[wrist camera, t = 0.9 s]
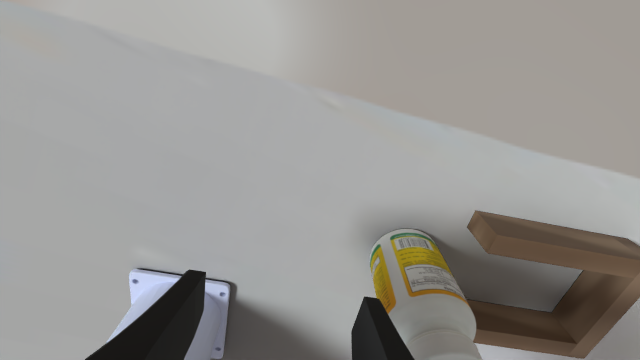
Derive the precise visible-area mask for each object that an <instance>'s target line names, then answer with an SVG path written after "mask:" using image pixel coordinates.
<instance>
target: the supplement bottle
mask: <svg viewBox="0 0 640 360" xmlns="http://www.w3.org/2000/svg"><path fill="white" fill-rule="evenodd" d="M370 267H371V272H372V277H373V282H374V287H375V292H376V297H377V299H380V301H381V302H382V304H383V306H384V308H385V310H386V312H387V313H388V315H389V317H390V319H391V321H392V322H393V324H394V326H395V328H396V329H397V331H398V333H399V335H400V336H401V338H402V340H403V341H404V343H405V345H406V346H407V348H408V350H409V351H410V353H411V355H412V356H413V358H414V359H415V360H482V358H481V356H480V354H479V352H478V349H477V347H476V345H475V344H474V342H473V340H474V338H475V334H476V320H475V317H474V314H473V312H472V310H471V308H470V306H469V304H468V303H467V301H466V299H465V297H464V295H463V293H462V291H461V290H460V288H459V286H458V284H457V282H456V280H455V279H454V277H453V275H452V273H451V271H450V270H449V268H448V266H447V264H446V262H445V260H444V258H443V256H442V255H441V253H440V251H439V249H438V247H437V245H436V244H435V242H434V241H433V240H432V239H431V238H430V237H429V236H428V235H427V234H425V233H423V232H421V231H418V230H414V229H399V230H395V231H392V232H389V233H387V234H386V235H384V236H382V237H381V238H380V239H379V240H378V241H377V242H376V243H375V245H374V246H373V248H372V250H371V254H370Z"/></svg>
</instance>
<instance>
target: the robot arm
mask: <svg viewBox="0 0 640 360" xmlns="http://www.w3.org/2000/svg"><path fill="white" fill-rule="evenodd" d="M205 279H206V272H202V271H195V270H188V271H186V272H185V273H184V275H183V276H179V275H172V274H166V273H159V272H153V271H146V270H139V269H134V270H132V271H131V272H130V273H129V282H130V293H131V304H132V307H131V308H130V309H129V311H128V312H127V314H126V315H125V317H124V318H123V319H122V321H121V322H120V324H119V325H118V327H117V328H116V329H115V331H114V332H113V334H112V335H111V337H110V338H109V339H108V341H107V342H106V344H105V345H104V346H102V347H101V348H100V349H98V350H97V351H96V352H94V353H93V354H92V355H90V356H89V357H88V358H86V359H85V360H211V358H213V359H221V358H222V357H223V354H224V345H225V335H226V326H227V316H228V306H229V296H230V285H229V284H228V283H225V282H218V281H212V280H205ZM222 292H224V293H222ZM352 360H415V359H414V358H413V356H412V355H411V353H410V351H409V350H408V348H407V346H406V345H405V343H404V341H403V340H402V338H401V336H400V335H399V333H398V331H397V329H396V328H395V326H394V324H393V322H392V321H391V319H390V317H389V315H388V313H387V312H386V310H385V308H384V306H383V304H382V302H381V301H380V299H377V298H371V297H364V299H363V301H362V304H361V307H360V310H359V312H358V315H357V318H356V321H355V323H354V326H353V329H352Z"/></svg>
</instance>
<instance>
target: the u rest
mask: <svg viewBox="0 0 640 360" xmlns="http://www.w3.org/2000/svg"><path fill="white" fill-rule="evenodd" d="M467 228H468V229H469V230H470V232H471V233H472V234H473V236H474V237H475V238H476V239H477V241H478V242H479V243H480V245H481V246H482V247H483V249H484V250H485V251H486V252H487V253H489V254H495V255H500V256H506V257H512V258H518V259H524V260H529V261H535V262H541V263H547V264H552V265H558V266H564V267H570V268H576V269H581V270H583V272H582V273H581V274H580V276H579V277H578V278H577V280H576V281H575V282H574V284H573V285H572V286H571V288H570V289H569V290H568V292H567V293H566V294H565V296H564V297H563V298H562V299H561V301H560V302H559V303H558V305H557V306H556V307H555V309H554V310H553V311H552V313H549V312H543V311H536V310H530V309H524V308H517V307H511V306H505V305H498V304H492V303H486V302H479V301H473V300H467V299H466V301H467V303H468V304H469V306H470V308H471V310H472V312H473V314H474V317H475V320H476V334H475V338H474V340H473V342H474V343H479V344H486V345H493V346H500V347H507V348H514V349H521V350H527V351H534V352H541V353H548V354H555V355H562V356H569V357H576V358H583V359H584V358H585V357H586V356H587V355H588V354H589V352H590V351H591V350H592V349H593V348H594V347H595V346H596V345H597V344H598V343H599V341H600V340H601V339H602V338H603V337H604V336H605V335H606V334H607V333H608V332H609V330H610V329H611V328H612V327H613V326H614V325H615V324H616V323H617V322H618V321H619V319H620V318H621V317H622V316H623V315H624V314H625V313H626V312H627V311H628V310H629V308H630V307H631V306H632V305H633V304H634V303H635V302H636V301H637V300H638V298H639V297H640V247H639V246H638V245H636V244H635V243H633V242H632V241H630V240H629V239H626V238H621V237H615V236H610V235H605V234H599V233H594V232H588V231H583V230H578V229H572V228H567V227H561V226H556V225H551V224H545V223H540V222H534V221H529V220H524V219H518V218H513V217H507V216H502V215H497V214H491V213H486V212H480V211H475V213H474V215H473V217H472V219H471V221H470V223H469V225H468V227H467Z"/></svg>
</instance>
